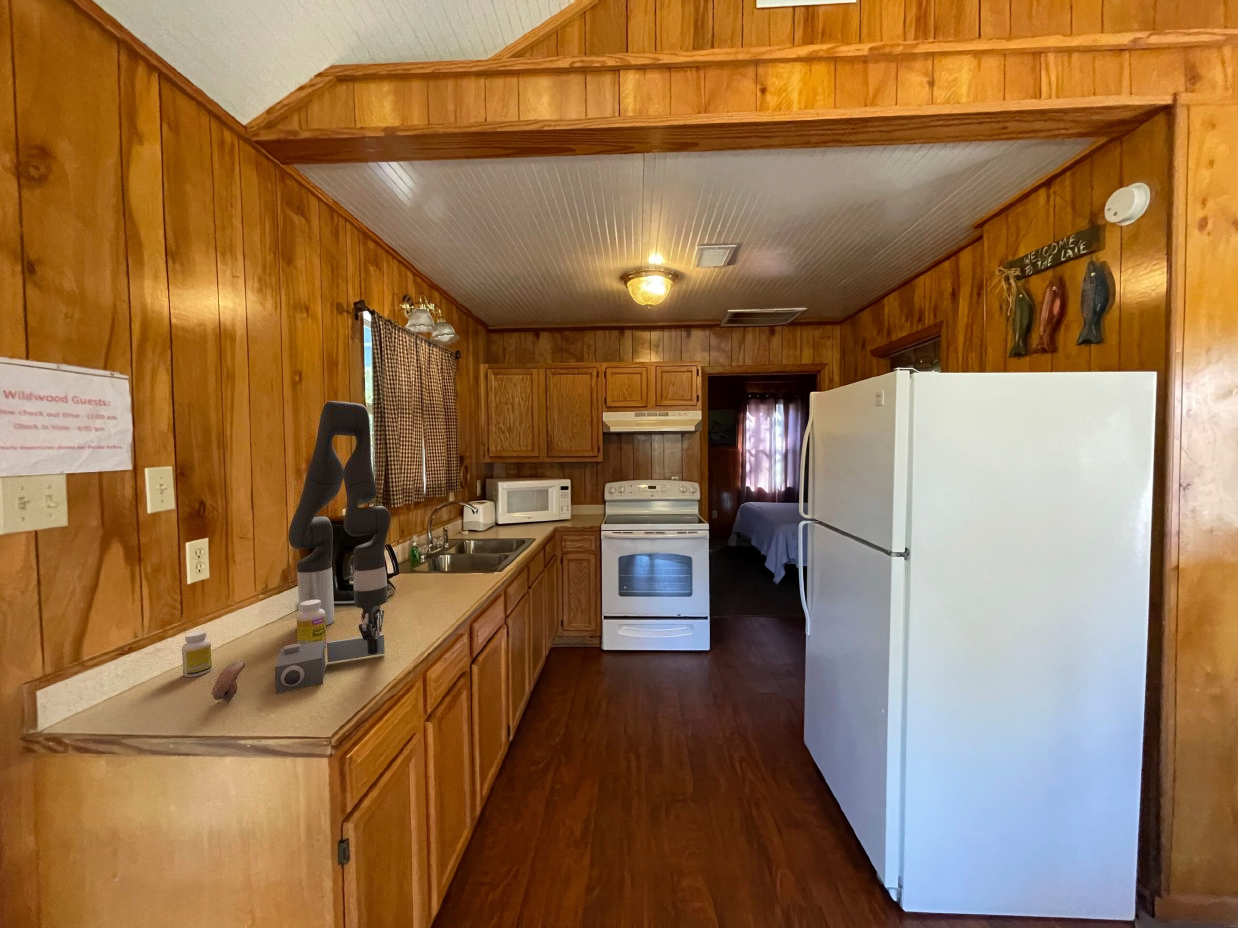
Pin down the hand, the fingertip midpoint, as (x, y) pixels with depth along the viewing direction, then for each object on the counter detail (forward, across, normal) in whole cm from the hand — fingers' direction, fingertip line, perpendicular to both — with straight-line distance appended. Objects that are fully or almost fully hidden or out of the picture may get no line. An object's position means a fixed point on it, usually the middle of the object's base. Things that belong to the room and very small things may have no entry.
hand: (373, 652), depth 126 cm
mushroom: (+2, -14, +25) cm, 29 cm away
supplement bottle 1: (+2, +3, +41) cm, 42 cm away
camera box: (+2, -6, +14) cm, 15 cm away
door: (+2, +3, +5) cm, 6 cm away
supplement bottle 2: (+2, +12, +19) cm, 23 cm away
